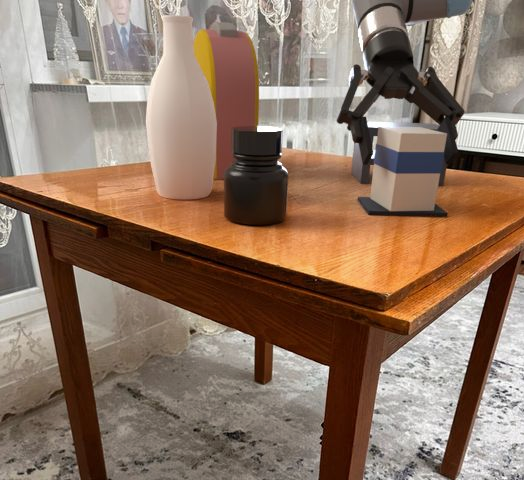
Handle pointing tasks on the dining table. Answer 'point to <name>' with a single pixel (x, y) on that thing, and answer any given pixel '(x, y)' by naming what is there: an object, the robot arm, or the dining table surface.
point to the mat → (377, 209)
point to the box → (407, 168)
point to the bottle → (181, 117)
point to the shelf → (362, 170)
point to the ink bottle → (256, 177)
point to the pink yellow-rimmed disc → (229, 83)
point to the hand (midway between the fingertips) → (410, 159)
